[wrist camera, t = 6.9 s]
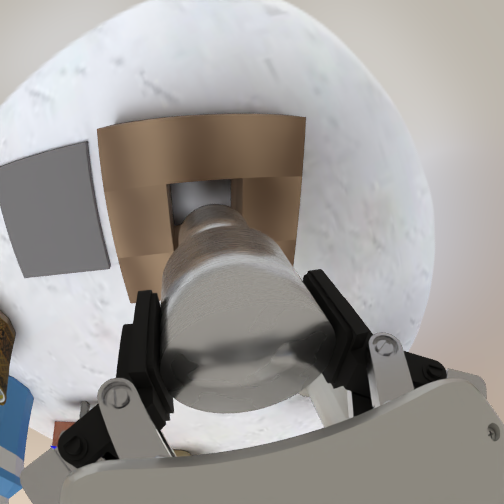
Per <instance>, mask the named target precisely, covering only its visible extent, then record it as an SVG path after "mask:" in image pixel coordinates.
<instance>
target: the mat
mask: <svg viewBox="0 0 504 504" xmlns="http://www.w3.org/2000/svg"><path fill="white" fill-rule="evenodd" d="M0 206H1V210H2V214H3V218H4V221H5V225H6V228H7V232H8V235H9V238H10V241H11V244H12V247H13V250H14V253H15V255H16V258H17V261H18V263H19V266H20V268H21V271H22V273H23V276H24V278H30V277H39V276H49V275H58V274H67V273H77V272H86V271H95V270H105V269H110V266H111V265H110V261H109V258H108V254H107V250H106V246H105V242H104V238H103V233H102V229H101V224H100V220H99V215H98V210H97V205H96V199H95V194H94V188H93V181H92V174H91V167H90V159H89V150H88V141H87V142H83V143H78V144H74V145H70V146H66V147H62V148H58V149H54V150H51V151H47V152H43V153H40V154H37V155H33V156H30V157H27V158H24V159H21V160H18V161H15V162H12V163H9V164H6V165H4V166H1V167H0Z"/></svg>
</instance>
